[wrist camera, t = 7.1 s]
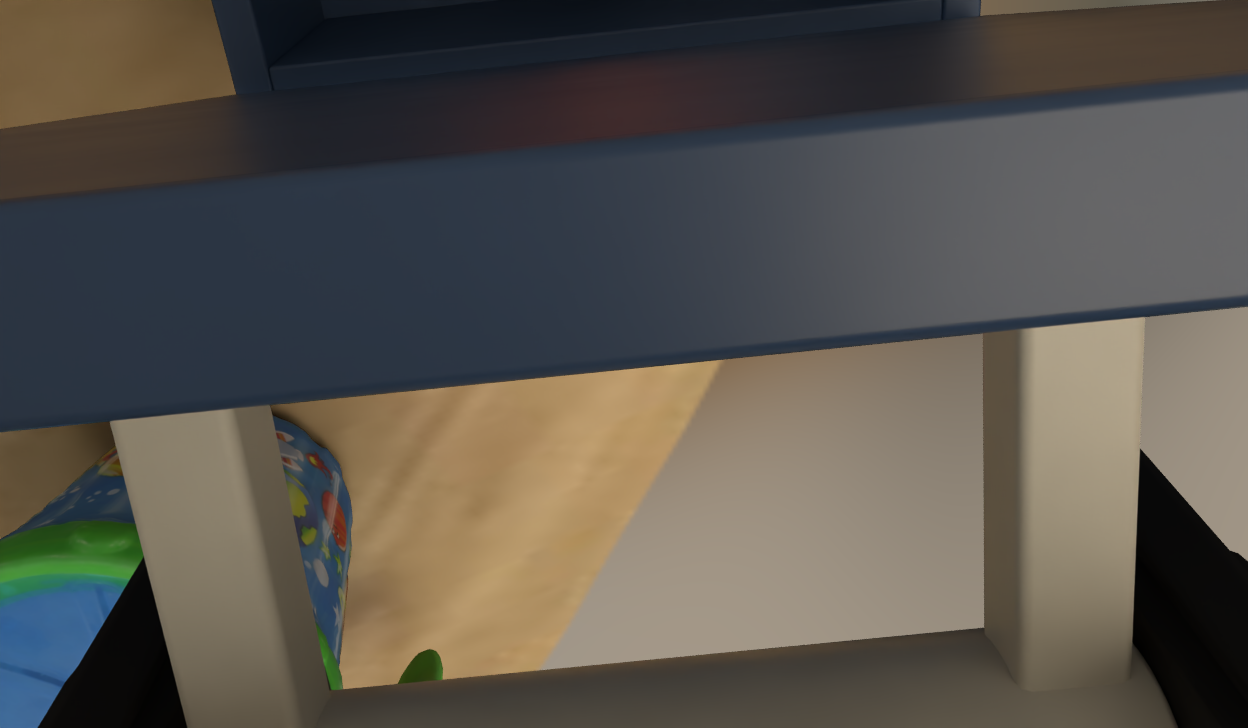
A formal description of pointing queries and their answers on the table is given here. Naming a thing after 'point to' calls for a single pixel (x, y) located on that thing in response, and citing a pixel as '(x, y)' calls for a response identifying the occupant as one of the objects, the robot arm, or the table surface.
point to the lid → (647, 320)
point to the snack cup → (110, 553)
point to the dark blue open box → (512, 32)
